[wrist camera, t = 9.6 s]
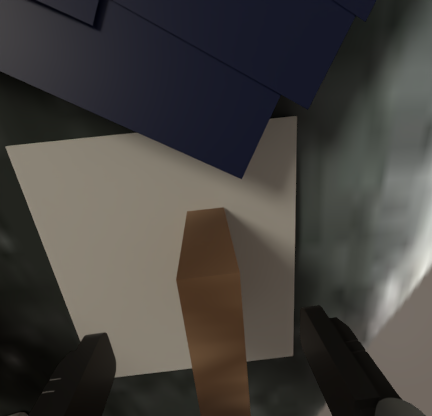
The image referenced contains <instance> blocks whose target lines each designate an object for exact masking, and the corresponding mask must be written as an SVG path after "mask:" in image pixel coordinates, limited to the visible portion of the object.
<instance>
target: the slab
mask: <svg viewBox="0 0 432 416" xmlns="http://www.w3.org/2000/svg"><path fill="white" fill-rule="evenodd" d="M176 282H177V288H178V293H179V299H180V304H181V309H182V315H183V320H184V326H185V331H186V337H187V342H188V348H189V353H190V358H191V364H192V369H193V375H194V380H195V386H196V391H197V397H198V402H199V407H200V413H201V416H251V415H250V401H249V388H248V375H247V361H246V348H245V335H244V321H243V308H242V295H241V281H240V271H239V267H238V263H237V259H236V255H235V251H234V247H233V243H232V239H231V235H230V230H229V226H228V222H227V218H226V214H225V210H224V207H222V208H213V209H204V210H195V211H187V215H186V221H185V227H184V233H183V240H182V246H181V252H180V258H179V265H178V271H177V277H176Z"/></svg>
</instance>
